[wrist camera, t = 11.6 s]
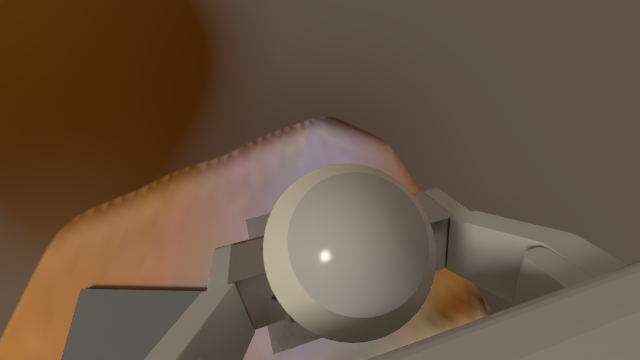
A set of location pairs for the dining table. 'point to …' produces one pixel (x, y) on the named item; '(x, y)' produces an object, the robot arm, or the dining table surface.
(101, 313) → the charcoal mat
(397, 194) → the salt shaker
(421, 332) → the dining table surface
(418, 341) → the robot arm
